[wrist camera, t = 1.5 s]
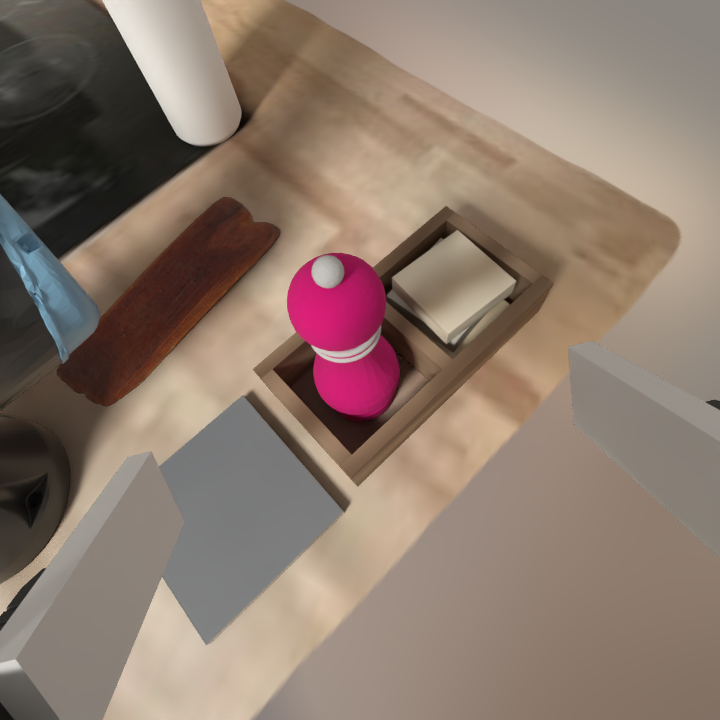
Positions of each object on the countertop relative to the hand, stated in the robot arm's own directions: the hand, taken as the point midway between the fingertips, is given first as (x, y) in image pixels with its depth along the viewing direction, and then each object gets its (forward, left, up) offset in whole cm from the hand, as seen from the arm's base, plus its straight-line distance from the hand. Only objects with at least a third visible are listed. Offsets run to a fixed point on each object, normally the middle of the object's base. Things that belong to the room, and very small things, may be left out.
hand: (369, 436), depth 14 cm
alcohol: (-50, +16, -26) cm, 58 cm away
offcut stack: (-10, +17, -26) cm, 32 cm away
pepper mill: (-10, +5, -26) cm, 28 cm away
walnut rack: (-10, +11, -26) cm, 30 cm away
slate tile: (-10, -10, -26) cm, 29 cm away
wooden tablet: (-32, -2, -27) cm, 41 cm away
